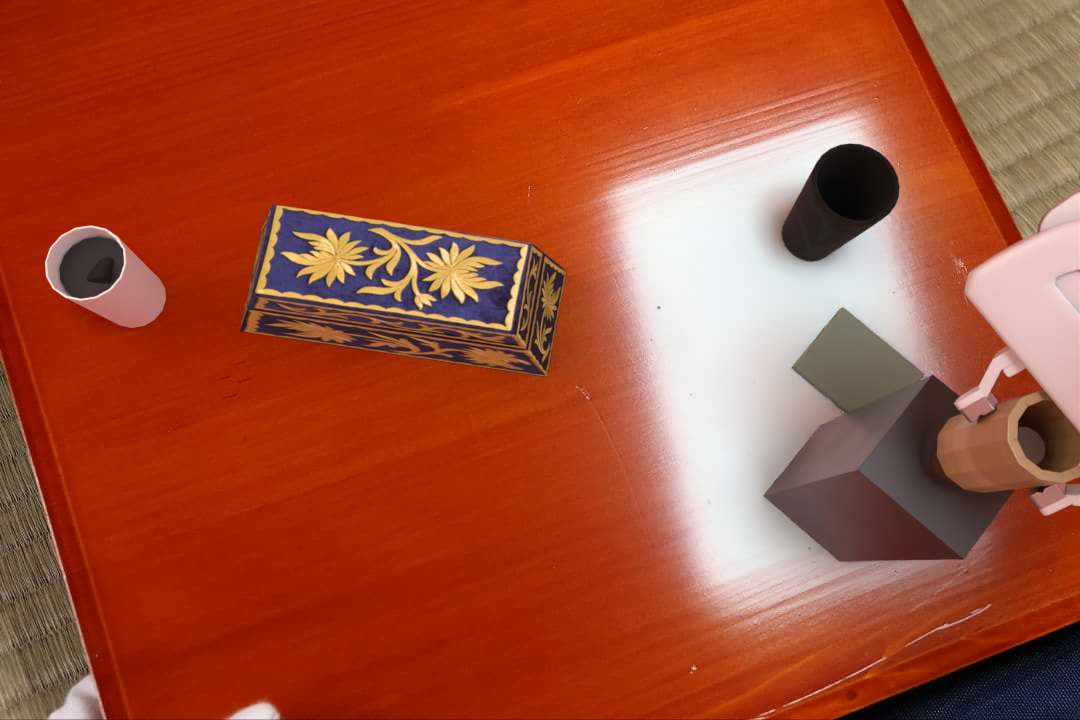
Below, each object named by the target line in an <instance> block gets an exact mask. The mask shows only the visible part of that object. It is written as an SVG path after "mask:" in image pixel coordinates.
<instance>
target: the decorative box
mask: <svg viewBox="0 0 1080 720" xmlns="http://www.w3.org/2000/svg"><path fill="white" fill-rule="evenodd" d="M254 257H255V258H254V262H253V267H252V272H251V277H250V281H249V286H248V290H247V295H246V300H245V303H244V310H243V312H242V318H241V323H240V326H239V332H243V333H248V334H249V333H250V334H256V335H263V336H270V337H276V338H282V339H283V338H284V339H290V340H297V341H303V342H310V343H317V344H324V345H330V346H337V347H338V346H339V347H344V348H350V349H351V348H352V349H358V350H362V351H363V350H364V351H371V352H377V353H382V354H383V353H385V354H390V355H397V356H403V357H404V356H405V357H411V358H416V359H417V358H418V359H425V360H431V361H438V362H445V363H452V364H458V365H464V366H471V367H477V368H478V367H479V368H485V369H492V370H499V371H506V372H510V373H511V372H513V373H519V374H525V375H532V376H539V377H545V378H548V374H549V370H550V364H551V358H552V352H553V348H554V343H555V337H556V336H555V335H556V331H557V326H558V320H559V314H560V310H561V304H562V299H563V293H564V289H565V283H566V278H567V277H566V276H567V270H566V269H565V268H564V267H562V266H561V264H559V263H558V262H556V261H555V260H554V259H553V258H552V257H550V256H549V255H548V254H546V253H545V252H544V251H542V250H541V248H539V247H537V245H535V244H534V243H532V242H527V241H521V240H514V239H508V238H500V237H495V236H487V235H481V234H473V233H467V232H461V231H453V230H448V229H442V228H441V229H440V228H433V227H427V226H420V225H413V224H408V223H407V224H406V223H401V222H400V223H399V222H394V221H393V222H392V221H387V220H381V219H373V218H367V217H359V216H353V215H346V214H339V213H332V212H325V211H320V210H312V209H306V208H299V207H293V206H285V205H278V204H274V203H273V204H271V205H270V208H269V210H268V212H267V213H266V217H265V220H264V221H263V223H262V226H261V230H260V235H259V239H258V243H257V249H256V253H255V256H254Z"/></svg>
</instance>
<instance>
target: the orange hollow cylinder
mask: <svg viewBox="0 0 1080 720" xmlns="http://www.w3.org/2000/svg"><path fill="white" fill-rule="evenodd" d="M1018 427H1028V428H1031V429H1033V430H1034V431H1036V432H1037V433H1038V434H1039V435H1040V436H1041V438H1042V439H1043V441H1044V444H1045V455H1044V458H1043V460H1042V461H1041V462H1040V463H1039V464H1038V465H1035V464H1034V463H1033V462H1031V461H1030V460H1029V459H1027V458H1026V456H1025V454H1024V452H1023V450H1022V448H1021V446H1020V444H1019V442H1018V440H1017V436H1018ZM937 457H938V459H939V461H940V464H941V466H942V468H943V470H944V472H945V474H946V475H947V477H949V478H950V479H951V480H952V481H954V482H955V483H956V484H958V485H959V486H960V487H961V488H963V489H965V490H970V491H977V492H983V493H986V492H995V491H1003V490H1012V489H1016V490H1019V489H1027V488H1029V489H1030V488H1031V487H1037V486H1046V485H1054V484H1063V483H1065V484H1067V483H1068V482H1071V481H1074V480H1076V479H1078V478H1080V433H1079V432H1078V431H1077V429H1076V428H1075V427H1074V426H1073V425H1072V423H1071V422H1070V421H1069V420H1068V418H1067V417H1066V416H1065V415H1064V414H1063V412H1062V411H1061V410H1060V409H1059V408H1058V406H1057V405H1056V404H1055V403H1054V402H1053V400H1052V399H1051V398H1050V397H1049V396H1048V394H1047V393H1046V392H1045V391H1044V389H1038V390H1035V391H1032V392H1029V393H1026V394H1021V395H1019V396H1015V397H1012V398H1011V397H1010V398H1008V399H1004V400H1001V401H998V404H997V405H996V408H995V410H993V411H991V412H989V413H988V414H986V415H980V416H979V418H978V419H977V420H975V421H974V422H971V423H969V422H968V420H967V419H966V418H965V417H964V416H963V414H959V415H957V416H954V417H952V418H950V419H949V420H948V421H947V422H946V424H945V425H944V427H943V428H942V430H941V431H940V432H939V434H938V442H937Z"/></svg>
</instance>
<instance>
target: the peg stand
mask: <svg viewBox="0 0 1080 720" xmlns="http://www.w3.org/2000/svg"><path fill="white" fill-rule="evenodd" d="M960 396H961V395H959V394H958V393H956V391H954V390H953V389H951V387H949V386H948V385H947V384H946V383H944V382H943V381H942V380H941V379H939V378H938V377H937V376H936V375H934V374H931V375H929V376H926V377H924V378H922V379H921V380H919V381H917V382H915V383H913V384H910V385H908V386H906V387H904V388H902V389H899V390H897V391H895V392H893V393H890V394H888V395H886V396H884V397H882V398H879V399H877V400H875V401H873V402H870V403H868V404H866V405H864V406H861V407H859V408H857V409H855V410H853V411H850V412H848V413H846V412H845V413H844V414H841V415H839V416H837V417H835V418H833V419H830V420H828V421H826V422H824V423H821V424H820V425H819V426H818V427H817V429H815V431H814V433H813V434H812V435H811V436H810V437H809V438H808V440H807V441H806V442H805V443H804V445H803V446H802V447H801V448H800V449H799V451H798V452H797V453H796V455H795V456H794V457H793V458H792V459H791V461H790V462H789V463H788V465H787V466H786V467H785V468H784V469H783V471H782V472H781V473H780V474H779V475H778V477H777V478H776V479H775V480H774V482H773V483H772V484H771V485H770V487H768V489H767V490H766V491H765V493H764V494H763V497H764V498H765V499H766V500H768V502H770V503H771V504H772V505H773V506H774V507H776V509H778V510H779V511H780V512H781V513H782V514H783V515H785V516H786V517H787V518H788V519H789V520H790V521H792V522H793V523H794V524H795V525H796V526H798V527H799V528H800V529H801V530H802V531H803V532H804V533H806V534H807V535H808V536H809V537H810V538H811V539H812V540H814V541H815V542H816V543H817V544H819V545H820V546H821V547H822V548H823V549H824V550H825V551H827V553H829V554H830V555H831V556H832V557H834V559H836V560H837V561H838V562H841V563H842V562H843V563H845V562H846V563H847V562H892V561H893V562H899V561H900V562H902V561H953V560H954V561H958V560H966V558H967V557H968V555H969V554H970V553H971V551H972V550H973V549H974V547H975V546H976V545H977V543H978V542H979V541H980V539H981V538H982V536H983V535H984V534H985V532H986V531H987V530H988V528H989V527H990V525H991V524H992V523H993V521H994V520H995V519H996V517H997V516H998V514H999V513H1000V512H1001V510H1002V509H1003V508H1004V507H1005V505H1006V503H1007V502H1008V501H1009V500H1010V498H1011V496H1012V495H1013V494H1014V493H1015V491H1016V490H1017V489H1012V490H1003V491H995V492H986V493H983V492H977V491H970V490H965V489H963V488H961V487H960V486H959V485H958V484H956V483H955V482H954V481H952V480H951V479H950V478H949V477H947V475H946V474H945V472H944V470H943V468H942V466H941V464H940V461H939V459H938V457H937V442H938V434H939V432H940V431H941V430H942V428H943V427H944V425H945V424H946V422H947V421H948V420H949V419H950V418H952V417H954V416H957V415H959V414H962V413H961V412H960V411H959V410H958V409H957V407H956V406H955V405H954V402H955V401H956V399H958V398H959V397H960ZM1017 440H1018V442H1019V444H1020V446H1021V448H1022V450H1023V452H1024V454H1025V456H1026V458H1027V459H1029V460H1030V461H1031V462H1033V463H1034V464H1035V465H1038V464H1039V463H1040V462H1041V461H1042V460H1043V458H1044V455H1045V444H1044V441H1043V439H1042V438H1041V436H1040V435H1039V434H1038V433H1037V432H1036V431H1034V430H1033V429H1031V428H1028V427H1018V436H1017Z"/></svg>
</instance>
